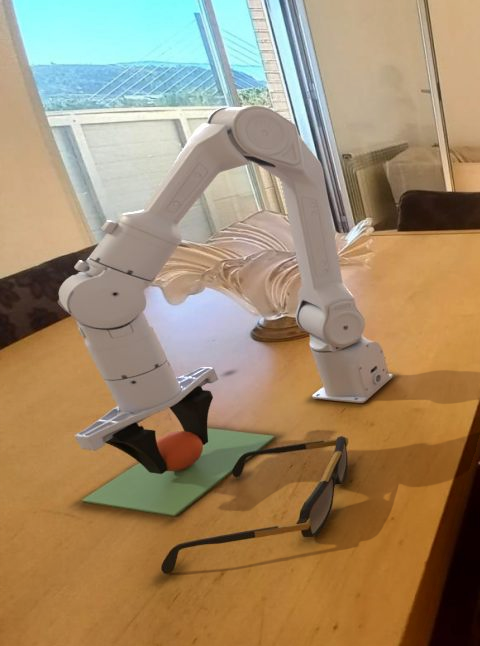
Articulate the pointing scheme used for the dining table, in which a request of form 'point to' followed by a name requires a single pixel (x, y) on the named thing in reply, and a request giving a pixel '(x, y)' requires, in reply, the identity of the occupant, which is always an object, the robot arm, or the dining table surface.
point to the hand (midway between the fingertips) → (180, 456)
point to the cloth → (179, 476)
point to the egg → (180, 449)
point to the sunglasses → (312, 510)
